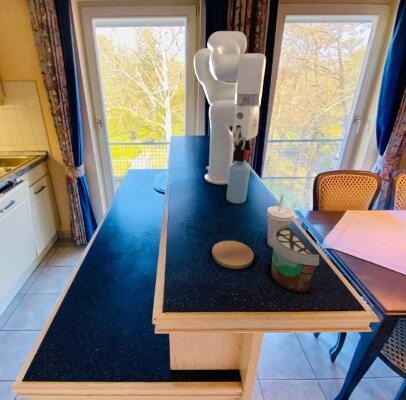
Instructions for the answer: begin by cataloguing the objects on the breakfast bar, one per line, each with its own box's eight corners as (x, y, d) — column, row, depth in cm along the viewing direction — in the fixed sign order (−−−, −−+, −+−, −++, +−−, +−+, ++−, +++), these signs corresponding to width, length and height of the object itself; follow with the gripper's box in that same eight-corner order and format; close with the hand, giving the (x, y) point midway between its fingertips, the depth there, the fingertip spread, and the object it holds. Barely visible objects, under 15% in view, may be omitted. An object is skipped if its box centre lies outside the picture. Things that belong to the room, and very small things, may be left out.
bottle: (222, 196, 96) (226, 151, 88) (237, 193, 98) (243, 148, 90) (234, 204, 90) (239, 157, 82) (249, 200, 93) (256, 154, 85)
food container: (257, 259, 63) (263, 223, 59) (282, 258, 64) (290, 222, 60) (279, 299, 52) (288, 258, 48) (309, 297, 53) (321, 256, 48)
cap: (245, 161, 85) (246, 152, 83) (233, 159, 87) (234, 150, 85) (249, 158, 88) (250, 149, 86) (238, 156, 90) (239, 147, 88)
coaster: (204, 250, 67) (204, 246, 67) (236, 240, 71) (236, 236, 71) (227, 274, 59) (228, 270, 59) (262, 261, 63) (262, 257, 62)
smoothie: (257, 240, 71) (264, 192, 65) (276, 235, 73) (284, 188, 67) (273, 253, 66) (282, 203, 60) (293, 247, 68) (304, 198, 62)
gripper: (249, 103, 71) (242, 168, 79) (269, 99, 83) (261, 155, 91) (223, 102, 75) (219, 163, 83) (246, 98, 87) (241, 152, 95)
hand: (241, 158), depth 87 cm, fingers closed on cap, 3 cm apart
